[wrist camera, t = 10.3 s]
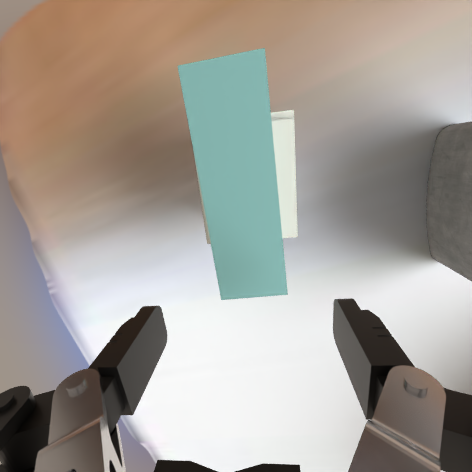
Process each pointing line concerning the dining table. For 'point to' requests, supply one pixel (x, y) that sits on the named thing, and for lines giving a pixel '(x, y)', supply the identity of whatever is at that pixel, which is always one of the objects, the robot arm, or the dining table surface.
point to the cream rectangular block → (280, 172)
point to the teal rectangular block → (237, 171)
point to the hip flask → (451, 199)
